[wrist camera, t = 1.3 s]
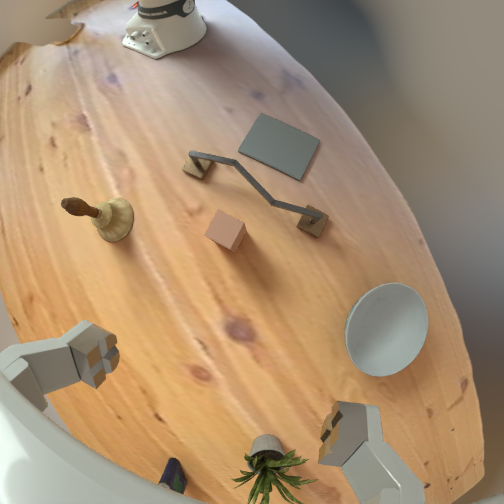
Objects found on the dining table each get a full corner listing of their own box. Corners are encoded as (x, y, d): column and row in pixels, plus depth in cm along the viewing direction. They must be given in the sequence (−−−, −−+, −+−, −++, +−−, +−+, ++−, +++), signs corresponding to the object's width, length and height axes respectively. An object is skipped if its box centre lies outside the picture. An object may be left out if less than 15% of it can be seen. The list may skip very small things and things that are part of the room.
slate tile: (238, 151, 47) (237, 150, 46) (261, 114, 47) (261, 112, 47) (299, 181, 46) (300, 180, 46) (319, 141, 47) (320, 140, 46)
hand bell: (142, 212, 47) (95, 189, 31) (117, 250, 46) (64, 243, 30) (112, 190, 47) (64, 163, 31) (90, 226, 47) (36, 211, 31)
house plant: (301, 470, 43) (313, 522, 27) (235, 471, 43) (228, 525, 27) (307, 419, 44) (325, 472, 27) (232, 420, 44) (223, 475, 28)
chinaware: (416, 293, 45) (439, 297, 37) (389, 368, 44) (408, 382, 36) (349, 269, 45) (365, 269, 38) (320, 352, 45) (331, 366, 37)
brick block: (214, 241, 46) (204, 235, 37) (225, 220, 46) (218, 209, 37) (235, 252, 46) (230, 249, 37) (246, 231, 46) (244, 222, 37)
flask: (188, 484, 43) (178, 515, 32) (176, 484, 43) (164, 513, 32) (178, 457, 44) (165, 488, 33) (165, 456, 44) (150, 486, 33)
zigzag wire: (183, 171, 47) (174, 159, 41) (194, 152, 47) (187, 138, 41) (317, 238, 46) (326, 233, 40) (327, 217, 46) (336, 210, 40)
